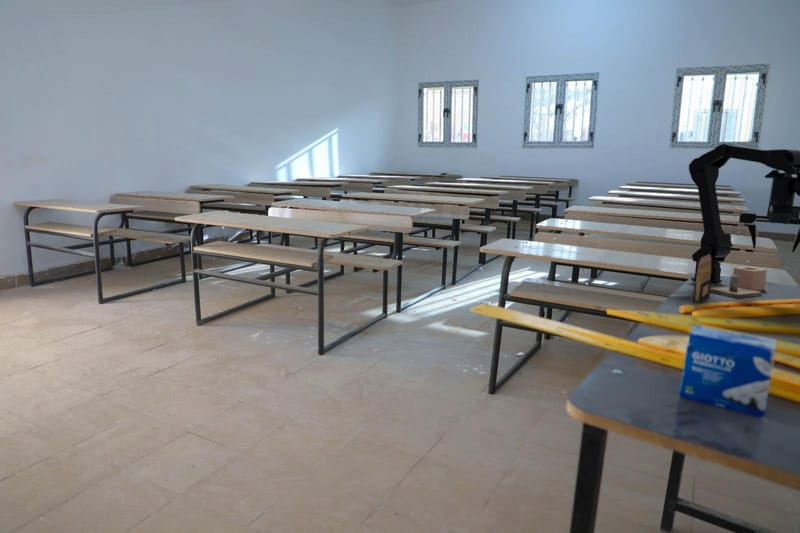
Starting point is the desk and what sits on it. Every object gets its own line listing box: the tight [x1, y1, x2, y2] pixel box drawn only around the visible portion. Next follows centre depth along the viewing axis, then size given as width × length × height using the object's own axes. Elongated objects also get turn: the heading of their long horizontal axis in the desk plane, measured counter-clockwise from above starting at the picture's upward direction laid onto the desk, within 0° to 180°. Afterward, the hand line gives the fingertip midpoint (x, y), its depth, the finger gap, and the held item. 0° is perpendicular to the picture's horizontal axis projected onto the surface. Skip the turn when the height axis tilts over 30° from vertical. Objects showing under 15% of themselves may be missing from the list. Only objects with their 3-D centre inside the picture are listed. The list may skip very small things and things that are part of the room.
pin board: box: [710, 274, 763, 299], centre depth 157 cm, size 10×10×5 cm
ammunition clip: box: [692, 254, 712, 304], centre depth 148 cm, size 11×2×12 cm, turn 139°
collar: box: [732, 266, 768, 291], centre depth 164 cm, size 6×6×6 cm
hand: (773, 250), depth 156 cm, fingers open, 9 cm apart
